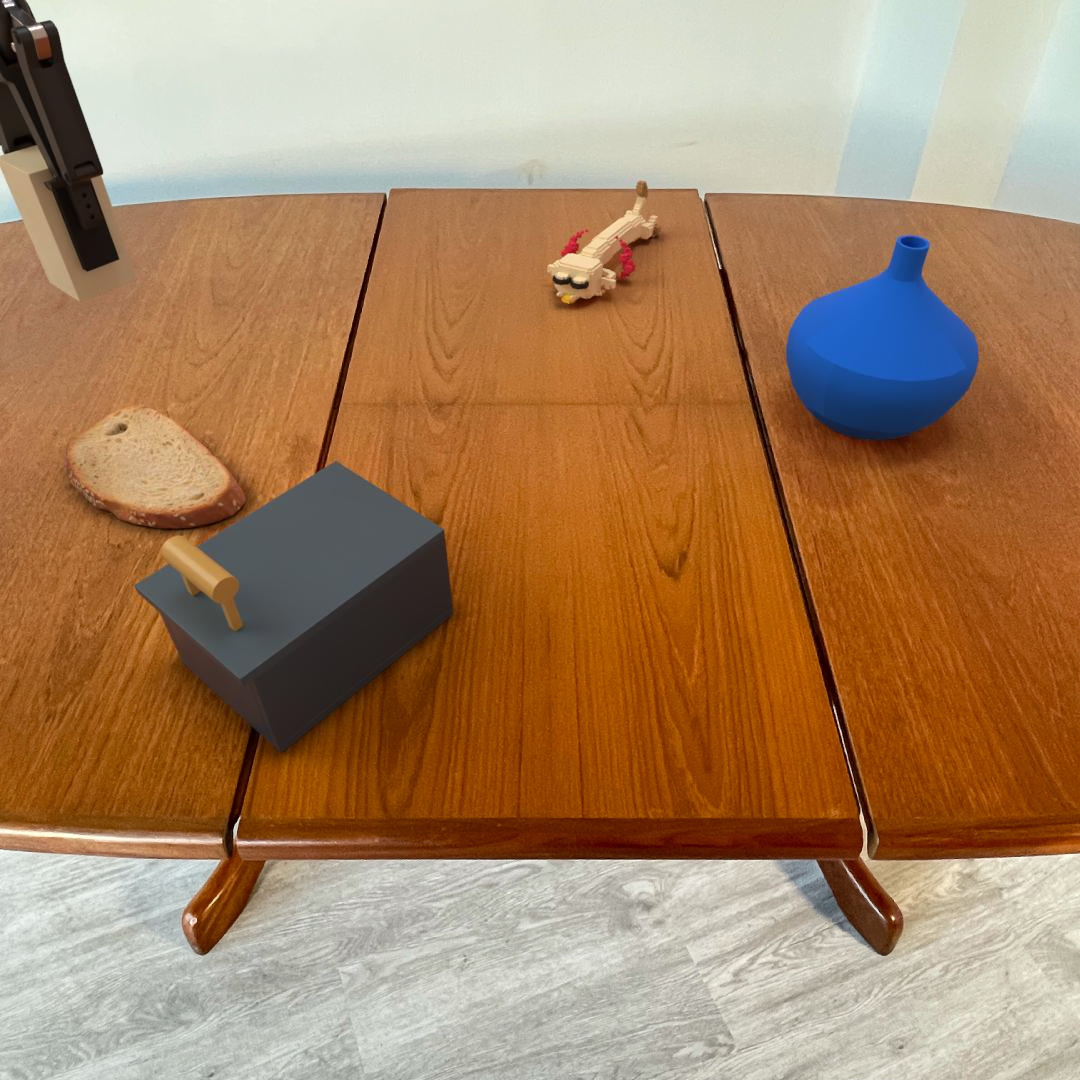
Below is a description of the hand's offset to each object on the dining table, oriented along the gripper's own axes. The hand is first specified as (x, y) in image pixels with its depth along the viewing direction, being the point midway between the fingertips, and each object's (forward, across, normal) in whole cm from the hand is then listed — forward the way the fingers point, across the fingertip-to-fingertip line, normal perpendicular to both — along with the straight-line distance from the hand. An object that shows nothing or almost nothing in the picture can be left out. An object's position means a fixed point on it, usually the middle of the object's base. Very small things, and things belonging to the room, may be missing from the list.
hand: (82, 252), depth 70 cm
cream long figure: (+24, -5, -63) cm, 68 cm away
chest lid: (+15, -27, +3) cm, 31 cm away
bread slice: (+24, +2, 0) cm, 24 cm away
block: (+2, 0, 0) cm, 2 cm away
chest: (+24, -27, +3) cm, 36 cm away
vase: (+24, -46, -55) cm, 75 cm away
